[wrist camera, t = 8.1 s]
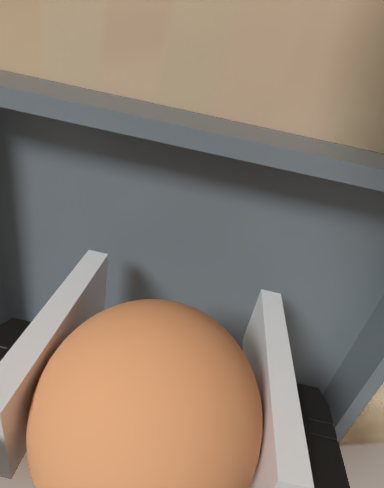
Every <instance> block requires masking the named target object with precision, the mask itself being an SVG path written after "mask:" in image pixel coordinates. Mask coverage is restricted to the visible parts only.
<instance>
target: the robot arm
mask: <svg viewBox="0 0 384 488" xmlns="http://www.w3.org/2000/svg"><path fill="white" fill-rule="evenodd" d="M107 264H108V254H106V253H101V252H97V251H93V250H88V251H87V253H86V254H85V255H84V256H83V258H82V259H81V260H80V261H79V263H78V264H77V265H76V267H75V268H74V269H73V270H72V272H71V273H70V274H69V275H68V277H67V278H66V279H65V280H64V282H63V283H62V284H61V285H60V287H59V288H58V289H57V290H56V292H55V293H54V294H53V295H52V297H51V298H50V299H49V301H48V302H47V303H46V304H45V306H44V307H43V308H42V309H41V311H40V312H39V313H38V314H37V316H36V317H35V318H34V319H33V321H32V322H30V321H26V320H22V319H17V318H11V319H9V320H8V321H6V322H4V323H3V324H1V325H0V476H1V477H6V478H10V479H11V478H12V477H13V475H14V473H15V471H16V469H17V468H18V466H19V464H20V462H21V460H22V458H23V457H24V455H25V453H26V451H27V448H26V432H27V419H28V415H29V410H30V405H31V401H32V397H33V394H34V391H35V388H36V386H37V383H38V380H39V378H40V376H41V374H42V372H43V370H44V368H45V367H46V365H47V363H48V361H49V359H50V358H51V356H52V355H53V354H54V352H55V351H56V350H57V348H58V347H59V346H60V345H61V343H62V342H63V341H64V340H65V339H66V338H67V337H68V336H69V335H70V334H71V333H72V332H73V331H74V330H75V329H76V328H77V327H79V326H80V325H81V324H82V323H84V322H85V321H86V320H88V319H89V318H91V317H92V316H94V315H96V314H97V313H99V312H101V311H103V310H104V307H105V293H106V279H107ZM242 348H243V352H244V354H245V356H246V358H247V360H248V362H249V364H250V366H251V368H252V370H253V373H254V375H255V379H256V382H257V386H258V389H259V393H260V398H261V405H262V416H263V434H262V441H261V448H260V454H259V460H258V463H257V466H256V470H255V473H254V476H253V478H252V481H251V483H250V485H249V487H248V488H350V486H349V482H348V478H347V474H346V470H345V466H344V463H343V459H342V455H341V451H340V447H339V443H338V442H337V435H336V431H335V427H334V426H333V419H332V415H331V412H330V408H329V404H328V403H327V401H326V400H325V398H324V396H323V395H322V393H321V392H320V390H319V388H316V387H312V386H308V385H303V384H299V383H296V378H295V373H294V367H293V361H292V355H291V349H290V344H289V338H288V332H287V326H286V320H285V314H284V309H283V303H282V297H281V294H280V293H276V292H271V291H267V290H263V289H261V291H260V294H259V297H258V299H257V302H256V305H255V307H254V310H253V313H252V316H251V318H250V321H249V324H248V326H247V329H246V332H245V335H244V337H243V340H242Z"/></svg>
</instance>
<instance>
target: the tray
mask: <svg viewBox="0 0 384 488" xmlns="http://www.w3.org/2000/svg"><path fill="white" fill-rule="evenodd" d="M88 250H93V251H97V252H101V253H106V254H108V264H107V279H106V293H105V307H104V310H106V309H108V308H110V307H113V306H115V305H118V304H121V303H125V302H129V301H135V300H141V299H162V300H169V301H174V302H178V303H182V304H185V305H188V306H190V307H193V308H195V309H197V310H199V311H201V312H203V313H205V314H206V315H208V316H209V317H211V318H212V319H214V320H215V321H216V322H217V323H218V324H220V325H221V326H222V327H223V328H224V329H225V330H227V331H228V333H229V334H230V335H231V336H232V337H233V338H234V339H235V341H236V342H237V344H238V345H239V346H240V348H241V349H242V351H243V348H242V340H243V337H244V335H245V332H246V329H247V326H248V324H249V321H250V318H251V316H252V313H253V310H254V307H255V305H256V302H257V299H258V297H259V294H260V291H261V289H263V290H267V291H271V292H276V293H280V294H281V297H282V303H283V309H284V314H285V320H286V326H287V332H288V338H289V344H290V349H291V355H292V361H293V367H294V373H295V378H296V383H299V384H303V385H308V386H312V387H316V388H319V390H320V392H321V393H322V395H323V396H324V398H325V400H326V401H327V403H328V404H329V408H330V412H331V415H332V419H333V426H334V427H335V431H336V435H337V442H338V443H339V442H340V441H341V439H342V438H343V436H344V435H345V434H346V432H347V431H348V430H349V428H350V427H351V426H352V424H353V423H354V422H355V420H356V419H357V417H358V416H359V415H360V413H361V412H362V411H363V409H364V408H365V407H366V405H367V404H368V402H369V401H370V400H371V398H372V397H373V396H374V394H375V393H376V392H377V390H378V389H379V388H380V386H381V385H382V383H383V382H384V154H381V153H377V152H372V151H367V150H363V149H358V148H354V147H349V146H345V145H340V144H336V143H331V142H326V141H322V140H317V139H313V138H308V137H304V136H299V135H295V134H290V133H285V132H281V131H276V130H272V129H267V128H263V127H258V126H254V125H249V124H244V123H240V122H235V121H231V120H226V119H222V118H217V117H213V116H208V115H203V114H199V113H194V112H190V111H185V110H181V109H176V108H171V107H167V106H162V105H158V104H153V103H149V102H144V101H140V100H135V99H130V98H126V97H121V96H117V95H112V94H108V93H103V92H99V91H94V90H89V89H85V88H80V87H76V86H71V85H67V84H62V83H58V82H53V81H48V80H44V79H39V78H35V77H30V76H26V75H21V74H17V73H12V72H7V71H3V70H0V325H1V324H3V323H4V322H6V321H8V320H9V319H11V318H17V319H22V320H26V321H30V322H32V321H33V319H34V318H35V317H36V316H37V314H38V313H39V312H40V311H41V309H42V308H43V307H44V306H45V304H46V303H47V302H48V301H49V299H50V298H51V297H52V295H53V294H54V293H55V292H56V290H57V289H58V288H59V287H60V285H61V284H62V283H63V282H64V280H65V279H66V278H67V277H68V275H69V274H70V273H71V272H72V270H73V269H74V268H75V267H76V265H77V264H78V263H79V261H80V260H81V259H82V258H83V256H84V255H85V254H86V253H87V251H88ZM104 310H103V311H104Z"/></svg>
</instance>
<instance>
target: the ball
mask: <svg viewBox="0 0 384 488" xmlns="http://www.w3.org/2000/svg"><path fill="white" fill-rule="evenodd" d="M262 434H263V416H262V405H261V398H260V393H259V389H258V386H257V382H256V379H255V375H254V373H253V370H252V368H251V366H250V364H249V362H248V360H247V358H246V356H245V354H244V352H243V351H242V349H241V348H240V346H239V345H238V344H237V342H236V341H235V339H234V338H233V337H232V336H231V335H230V334H229V333H228V331H227V330H225V329H224V328H223V327H222V326H221V325H220V324H218V323H217V322H216V321H215V320H214V319H212V318H211V317H209V316H208V315H206V314H205V313H203V312H201V311H199V310H197V309H195V308H193V307H190V306H188V305H185V304H182V303H178V302H174V301H169V300H162V299H141V300H135V301H129V302H125V303H121V304H118V305H115V306H113V307H110V308H108V309H106V310H104V311H101V312H99V313H97V314H96V315H94V316H92V317H91V318H89V319H88V320H86V321H85V322H84V323H82V324H81V325H80V326H79V327H77V328H76V329H75V330H74V331H73V332H72V333H71V334H70V335H69V336H68V337H67V338H66V339H65V340H64V341H63V342H62V343H61V345H60V346H59V347H58V348H57V350H56V351H55V352H54V354H53V355H52V356H51V358H50V359H49V361H48V363H47V365H46V367H45V368H44V370H43V372H42V374H41V376H40V378H39V380H38V383H37V386H36V388H35V391H34V394H33V397H32V401H31V405H30V410H29V415H28V419H27V432H26V448H27V461H28V465H29V470H30V474H31V479H32V483H33V486H34V488H248V487H249V485H250V483H251V481H252V478H253V476H254V473H255V470H256V466H257V463H258V460H259V454H260V448H261V441H262Z"/></svg>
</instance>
